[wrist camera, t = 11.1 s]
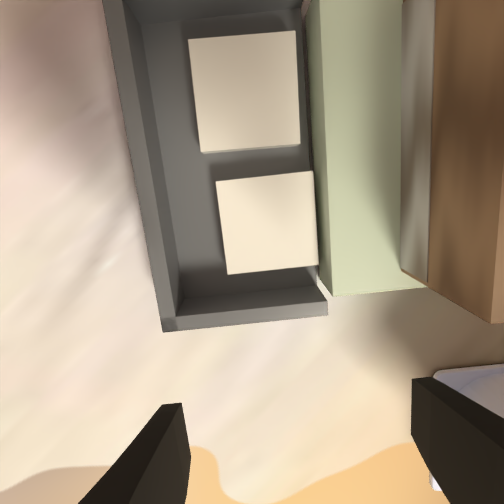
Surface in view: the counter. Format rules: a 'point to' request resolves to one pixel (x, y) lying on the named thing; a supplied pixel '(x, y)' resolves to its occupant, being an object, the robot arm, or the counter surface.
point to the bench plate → (357, 143)
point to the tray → (200, 162)
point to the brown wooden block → (454, 151)
